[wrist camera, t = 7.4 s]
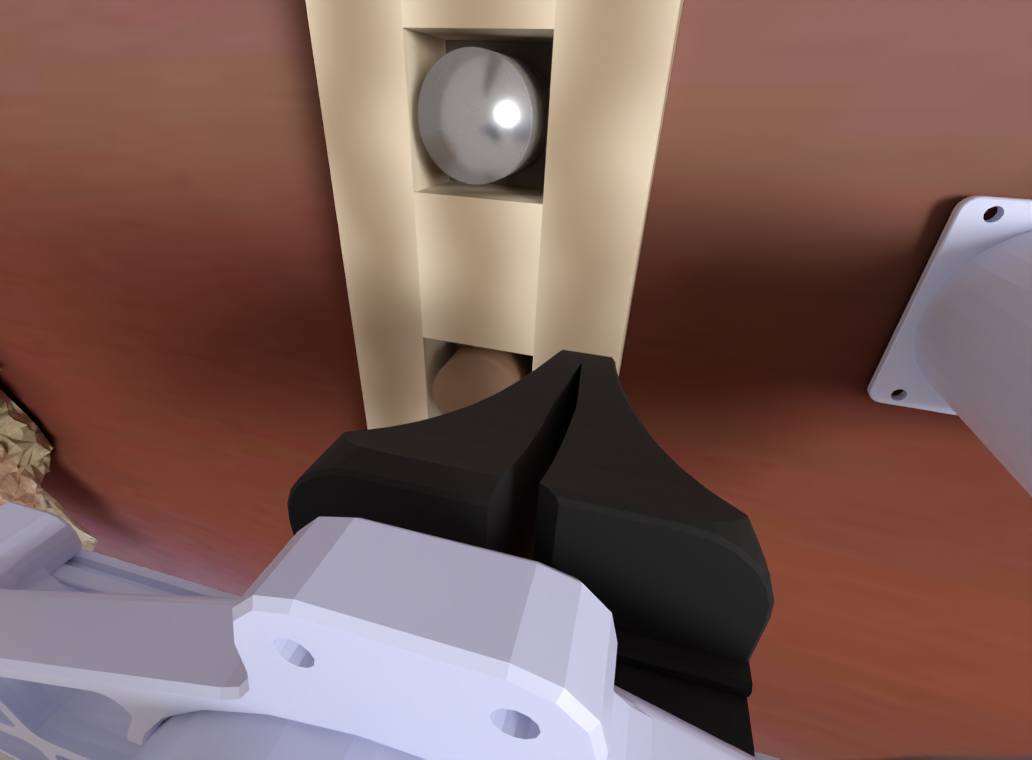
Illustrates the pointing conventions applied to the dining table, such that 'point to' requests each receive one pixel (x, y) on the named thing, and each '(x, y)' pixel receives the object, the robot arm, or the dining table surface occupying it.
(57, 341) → the dining table surface
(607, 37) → the board
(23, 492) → the fish sculpture
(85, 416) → the dining table surface
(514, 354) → the walnut peg
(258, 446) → the dining table surface
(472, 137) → the grey peg
